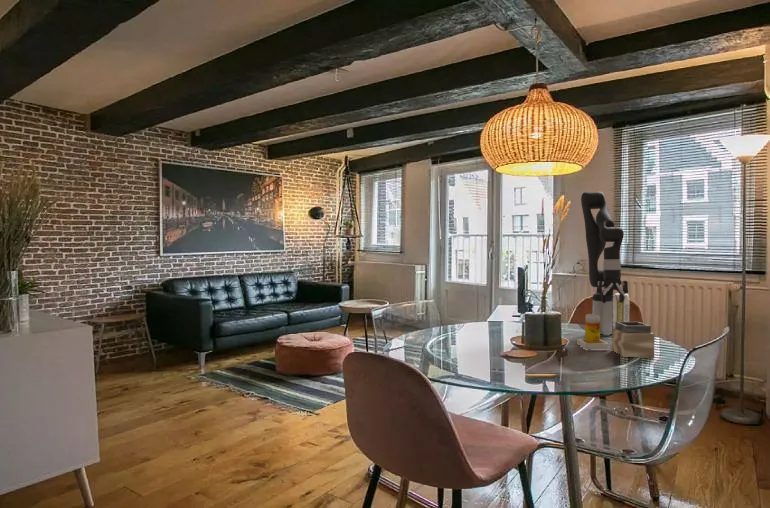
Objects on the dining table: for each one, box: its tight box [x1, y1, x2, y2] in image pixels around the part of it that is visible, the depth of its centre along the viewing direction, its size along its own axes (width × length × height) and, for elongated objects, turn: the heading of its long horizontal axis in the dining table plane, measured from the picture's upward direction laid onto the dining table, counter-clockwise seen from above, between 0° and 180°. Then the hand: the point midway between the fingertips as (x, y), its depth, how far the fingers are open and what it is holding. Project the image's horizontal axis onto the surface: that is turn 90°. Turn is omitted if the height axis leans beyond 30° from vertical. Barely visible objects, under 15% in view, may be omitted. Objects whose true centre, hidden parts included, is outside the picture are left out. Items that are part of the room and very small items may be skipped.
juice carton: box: [612, 292, 630, 328], centre depth 259 cm, size 8×9×19 cm
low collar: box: [576, 338, 610, 349], centre depth 218 cm, size 10×10×3 cm
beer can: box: [584, 313, 601, 343], centre depth 217 cm, size 6×6×15 cm
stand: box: [611, 321, 656, 359], centre depth 205 cm, size 12×12×13 cm
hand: (612, 302), depth 232 cm, fingers open, 8 cm apart
